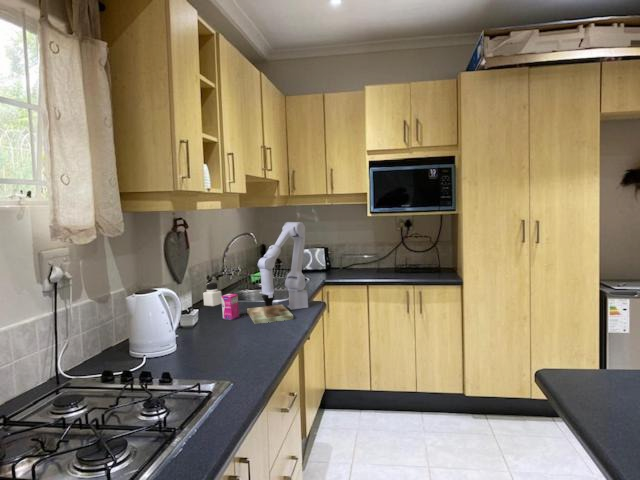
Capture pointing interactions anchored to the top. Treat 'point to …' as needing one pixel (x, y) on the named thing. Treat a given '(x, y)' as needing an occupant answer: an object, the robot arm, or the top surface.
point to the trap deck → (259, 317)
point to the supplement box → (230, 306)
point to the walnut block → (271, 311)
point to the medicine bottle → (212, 295)
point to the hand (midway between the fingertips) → (268, 309)
